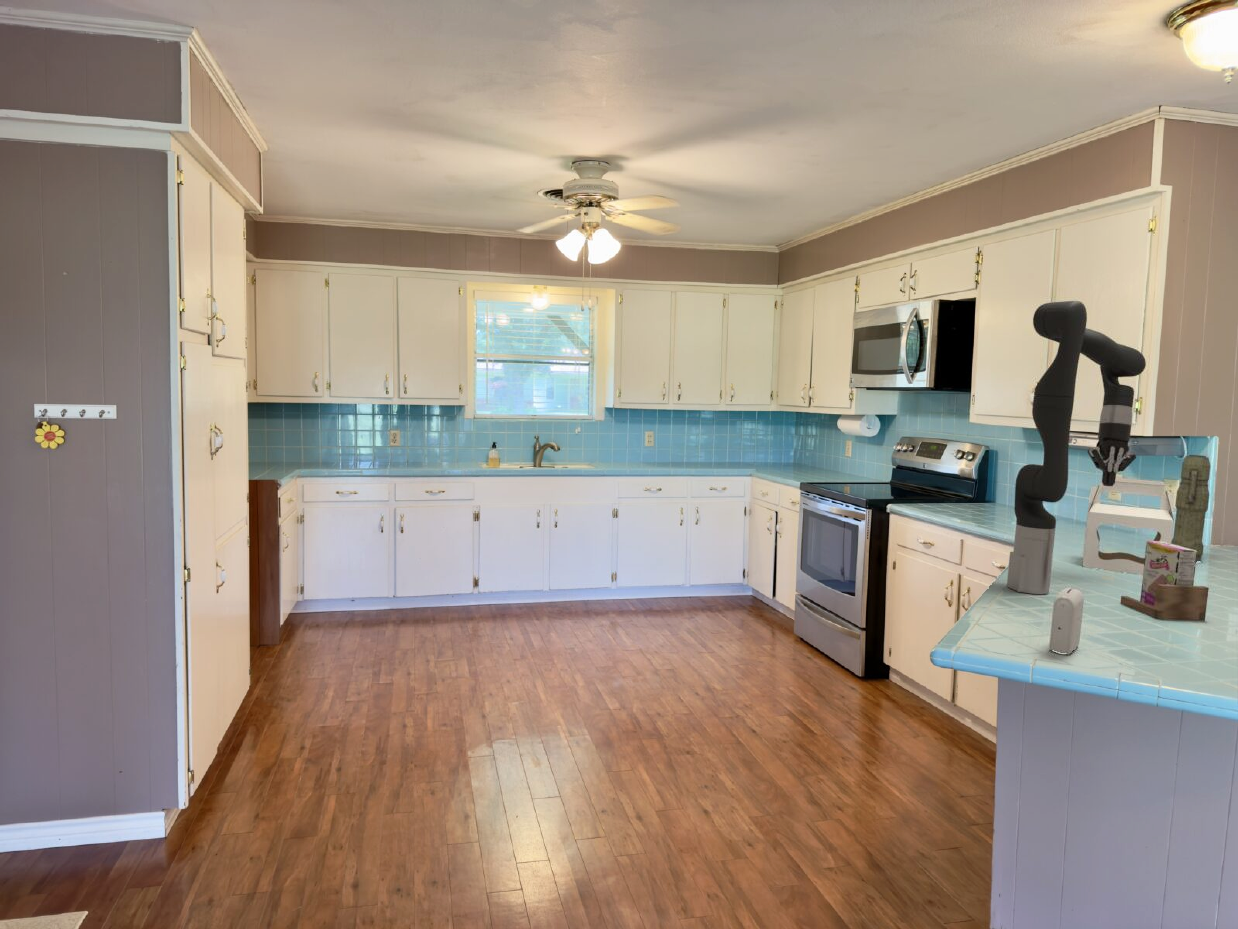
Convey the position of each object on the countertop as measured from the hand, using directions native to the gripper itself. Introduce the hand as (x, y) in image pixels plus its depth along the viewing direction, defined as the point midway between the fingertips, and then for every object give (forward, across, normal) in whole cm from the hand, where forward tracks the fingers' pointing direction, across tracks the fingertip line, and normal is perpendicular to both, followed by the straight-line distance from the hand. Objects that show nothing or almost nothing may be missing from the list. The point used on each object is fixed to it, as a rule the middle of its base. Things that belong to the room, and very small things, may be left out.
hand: (1108, 485), depth 223 cm
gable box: (+23, +26, +27) cm, 44 cm away
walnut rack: (+31, +1, -24) cm, 39 cm away
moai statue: (+18, +59, +44) cm, 76 cm away
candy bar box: (+31, +3, -22) cm, 38 cm away
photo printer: (+39, -43, -55) cm, 80 cm away
